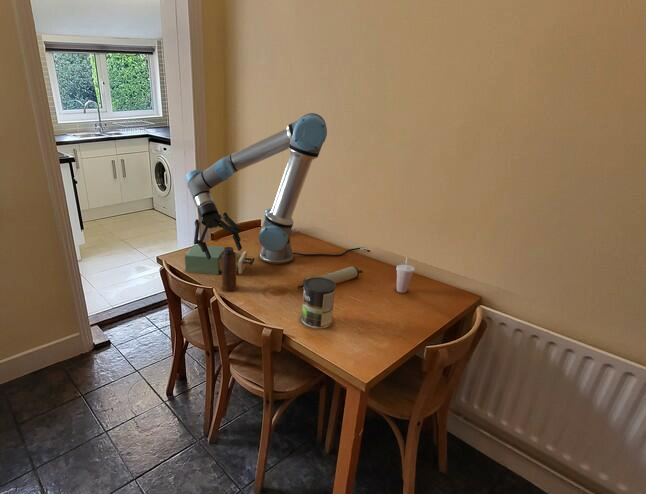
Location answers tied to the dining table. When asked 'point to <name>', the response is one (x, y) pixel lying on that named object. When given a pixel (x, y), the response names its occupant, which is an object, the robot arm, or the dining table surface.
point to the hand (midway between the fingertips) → (225, 253)
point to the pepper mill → (229, 269)
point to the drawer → (238, 261)
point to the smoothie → (404, 276)
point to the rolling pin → (339, 275)
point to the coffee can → (318, 302)
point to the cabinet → (203, 260)
